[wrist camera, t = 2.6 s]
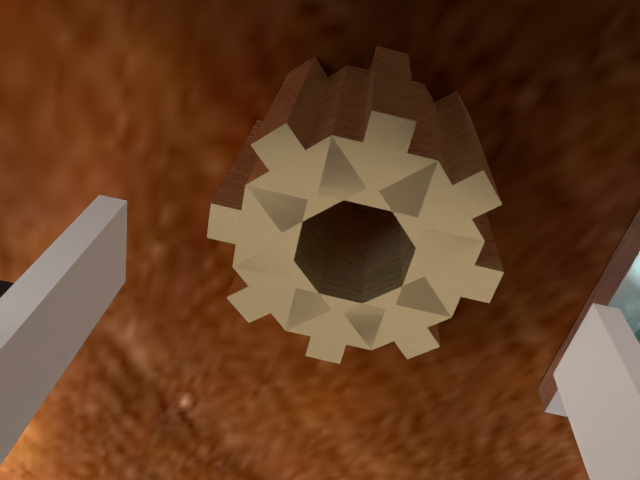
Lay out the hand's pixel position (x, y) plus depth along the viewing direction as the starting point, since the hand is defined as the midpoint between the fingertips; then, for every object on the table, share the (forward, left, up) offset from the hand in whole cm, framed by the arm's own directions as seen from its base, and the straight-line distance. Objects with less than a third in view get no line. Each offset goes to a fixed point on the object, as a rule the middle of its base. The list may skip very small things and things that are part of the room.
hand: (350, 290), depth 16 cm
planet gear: (0, 0, -8) cm, 8 cm away
